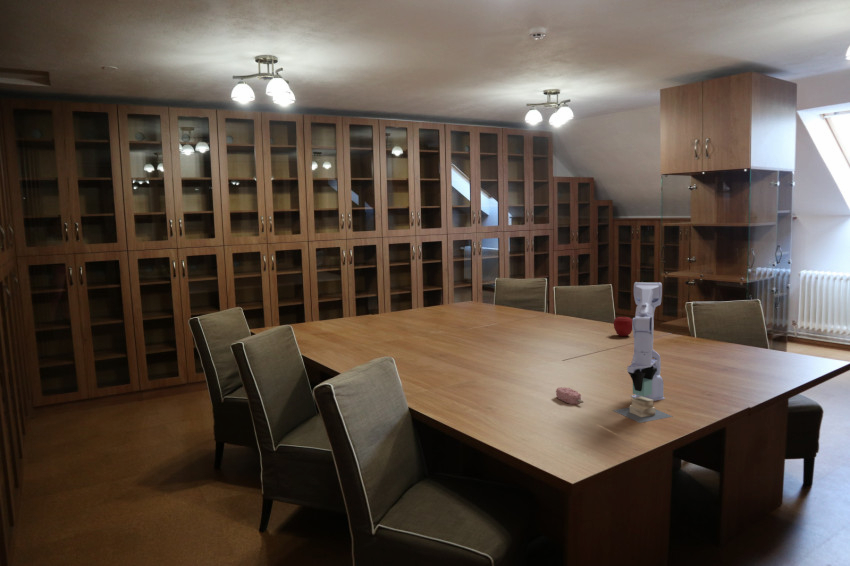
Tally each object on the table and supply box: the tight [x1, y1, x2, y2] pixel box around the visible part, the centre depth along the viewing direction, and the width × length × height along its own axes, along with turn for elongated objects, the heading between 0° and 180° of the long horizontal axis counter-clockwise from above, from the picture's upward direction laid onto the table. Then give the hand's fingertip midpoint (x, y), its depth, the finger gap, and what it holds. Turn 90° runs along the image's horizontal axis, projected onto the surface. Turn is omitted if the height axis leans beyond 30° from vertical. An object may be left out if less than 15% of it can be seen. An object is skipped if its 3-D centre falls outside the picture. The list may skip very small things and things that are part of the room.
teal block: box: [632, 378, 652, 396], centre depth 205 cm, size 4×4×5 cm
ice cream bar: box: [555, 387, 584, 405], centre depth 223 cm, size 6×4×15 cm
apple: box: [613, 315, 633, 337], centre depth 333 cm, size 11×11×12 cm
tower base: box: [629, 404, 656, 417], centre depth 206 cm, size 6×6×2 cm
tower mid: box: [631, 396, 654, 410], centre depth 206 cm, size 5×5×2 cm
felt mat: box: [612, 406, 673, 424], centre depth 206 cm, size 14×14×1 cm
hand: (642, 389), depth 205 cm, fingers closed on teal block, 4 cm apart
